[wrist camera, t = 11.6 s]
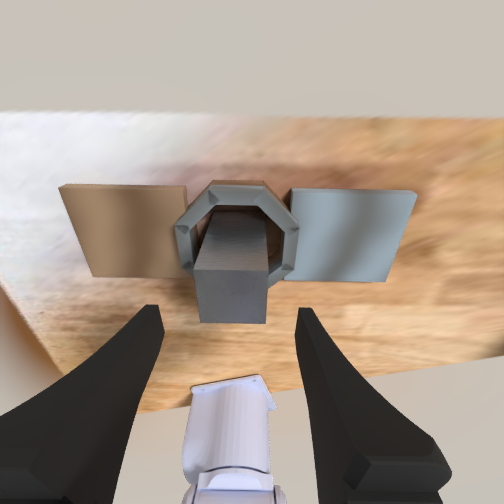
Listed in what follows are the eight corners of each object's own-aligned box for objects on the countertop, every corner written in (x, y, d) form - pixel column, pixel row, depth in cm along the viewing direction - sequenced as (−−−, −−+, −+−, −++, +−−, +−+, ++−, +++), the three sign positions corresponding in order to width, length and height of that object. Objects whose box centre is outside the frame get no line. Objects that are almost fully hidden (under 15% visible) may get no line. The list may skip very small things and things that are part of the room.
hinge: (100, 274, 24) (85, 291, 22) (64, 176, 19) (40, 186, 17) (378, 279, 24) (390, 297, 21) (413, 183, 19) (432, 194, 17)
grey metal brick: (217, 253, 22) (200, 322, 15) (214, 210, 20) (193, 269, 13) (262, 254, 22) (265, 323, 15) (264, 211, 20) (268, 270, 13)
